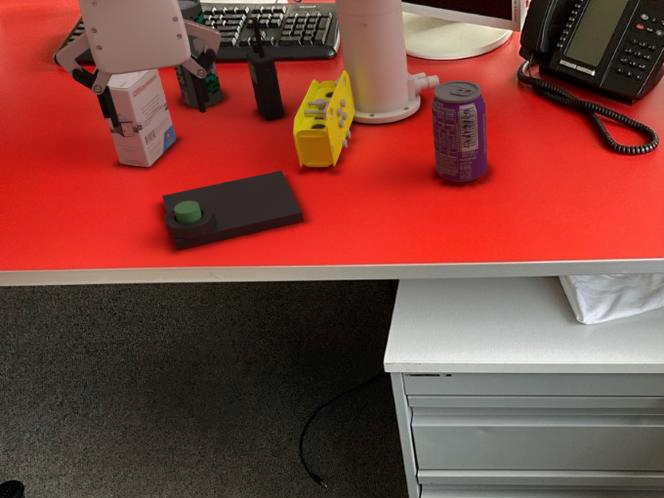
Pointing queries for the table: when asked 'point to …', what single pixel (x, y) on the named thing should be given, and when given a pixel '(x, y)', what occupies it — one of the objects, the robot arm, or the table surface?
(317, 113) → the yellow toy chassis
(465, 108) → the beverage can
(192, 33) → the robot arm
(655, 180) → the table surface
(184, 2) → the can
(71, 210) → the table surface
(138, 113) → the ink box
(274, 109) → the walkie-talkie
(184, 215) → the button
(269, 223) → the scale
